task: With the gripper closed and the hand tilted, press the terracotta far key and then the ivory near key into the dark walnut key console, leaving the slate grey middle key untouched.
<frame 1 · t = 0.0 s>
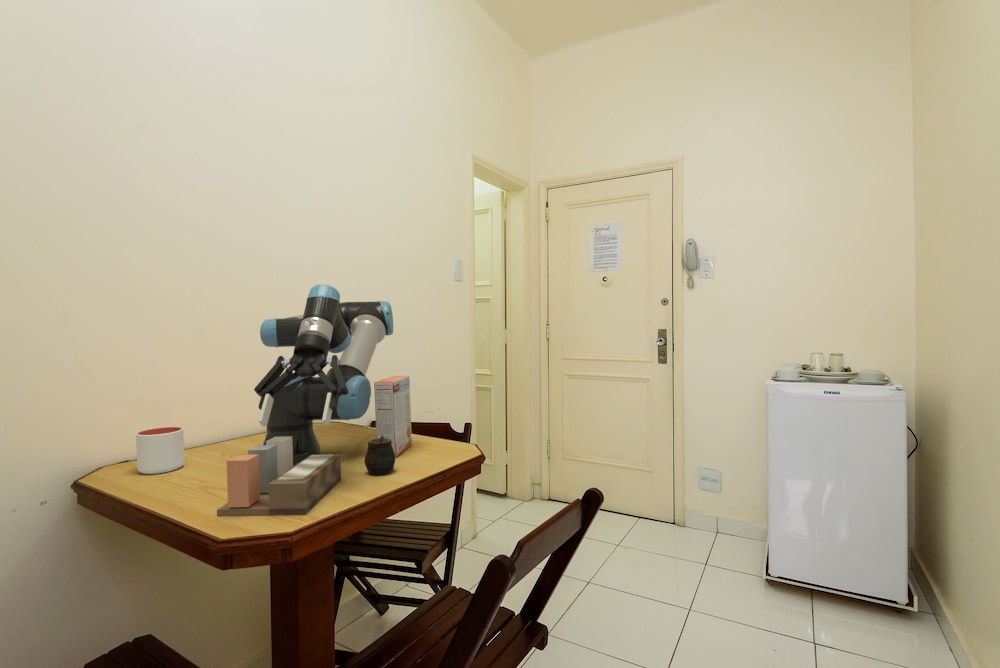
hand: (293, 423, 107), 15 cm above the table, tool tilted 35°, fingers open, 13 cm apart
terracotta key: (243, 480, 98), point 6 cm above the table, slide at 0.0 cm
cracker box: (394, 452, 142), on the table
slate key: (263, 468, 106), point 6 cm above the table, slide at 0.0 cm
mate gourd: (381, 473, 122), on the table
key console: (292, 496, 106), on the table
cup: (161, 470, 128), on the table
ivory key: (280, 458, 114), point 6 cm above the table, slide at 0.0 cm
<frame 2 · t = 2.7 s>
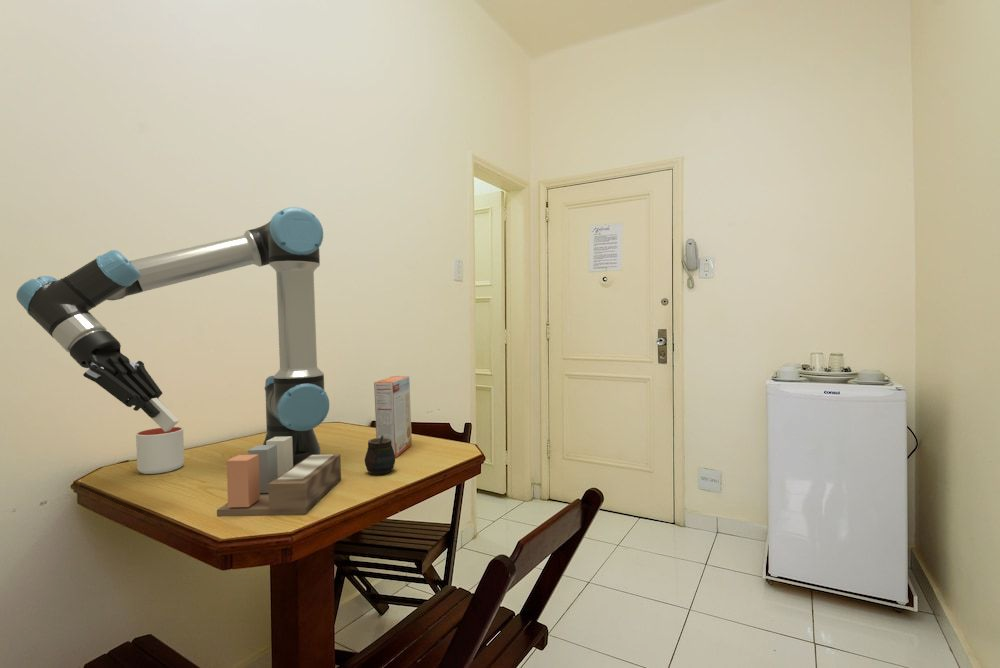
hand: (172, 426, 99), 17 cm above the table, tool tilted 45°, fingers closed
nothing on the table moved.
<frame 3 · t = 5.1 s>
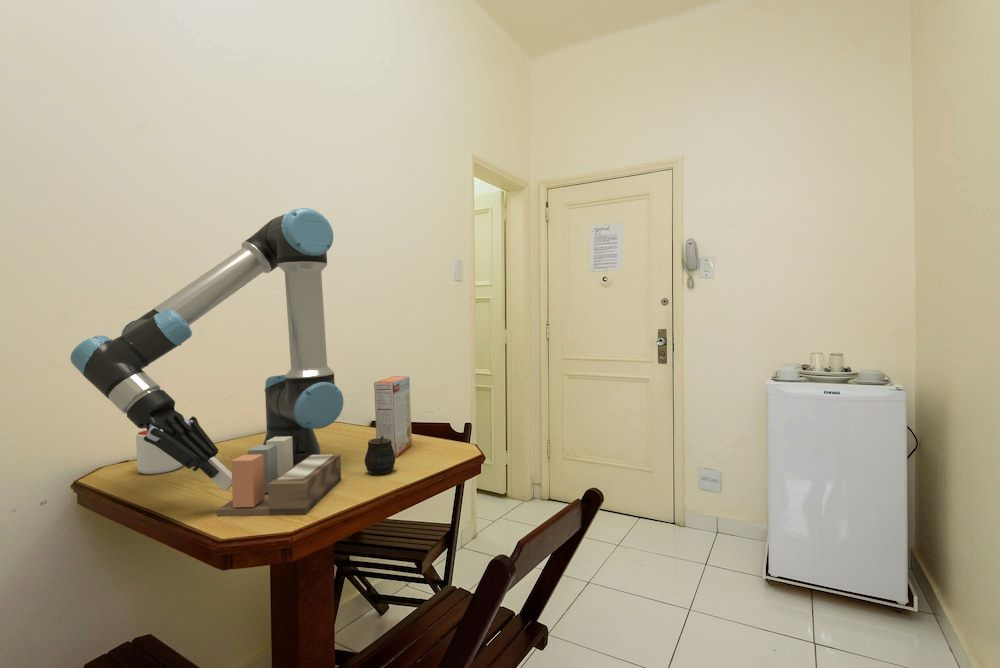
hand: (231, 485, 98), 5 cm above the table, tool tilted 45°, fingers closed
terracotta key: (248, 480, 98), point 6 cm above the table, slide at 0.9 cm, touching gripper
everything else where it was.
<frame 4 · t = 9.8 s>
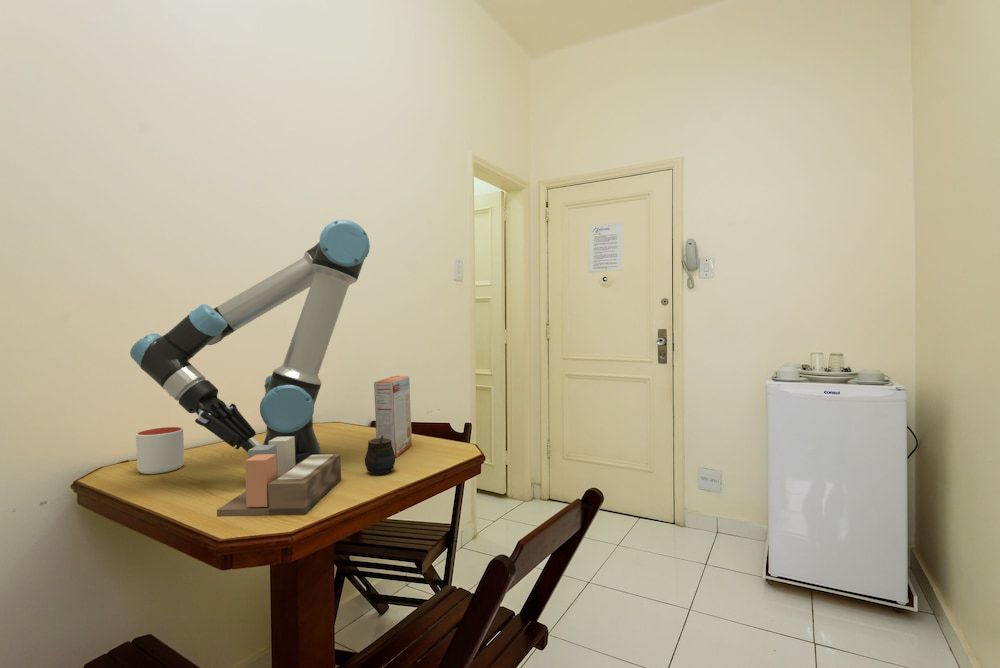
hand: (267, 461, 114), 5 cm above the table, tool tilted 45°, fingers closed
terracotta key: (261, 480, 98), point 6 cm above the table, slide at 3.5 cm
ivory key: (282, 458, 114), point 6 cm above the table, slide at 0.5 cm, touching gripper
everything else where it was.
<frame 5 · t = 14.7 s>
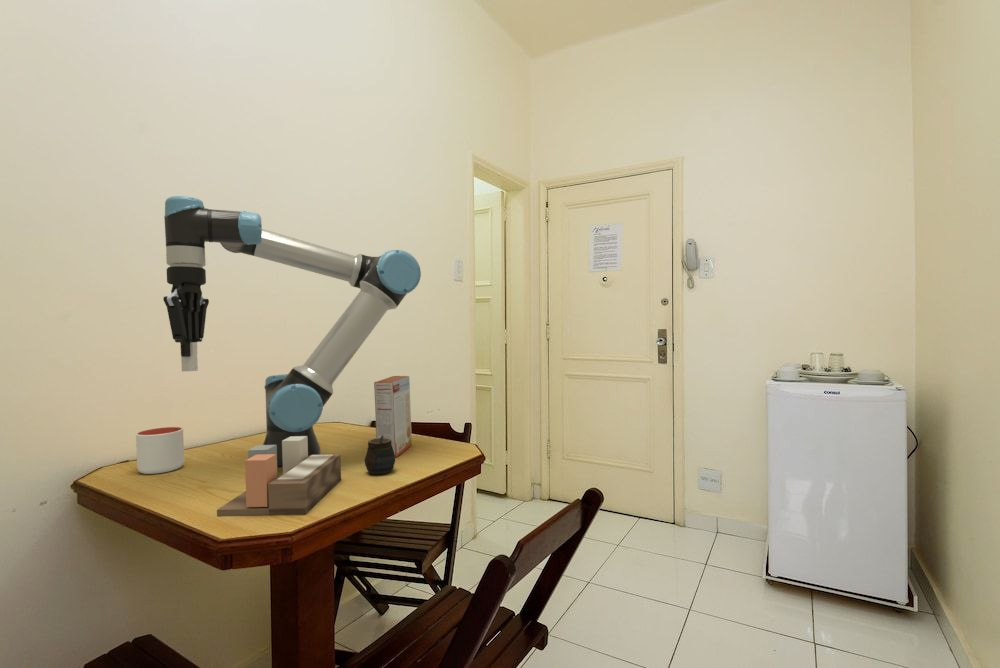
hand: (189, 370, 114), 26 cm above the table, tool pointing down, fingers closed
ivory key: (295, 458, 114), point 6 cm above the table, slide at 3.5 cm
everything else where it was.
at the end: terracotta key slide at 3.5 cm; ivory key slide at 3.5 cm; slate key slide at 0.0 cm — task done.
